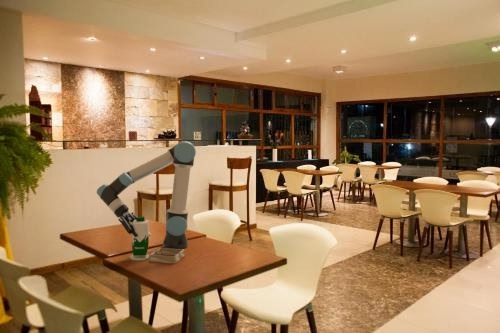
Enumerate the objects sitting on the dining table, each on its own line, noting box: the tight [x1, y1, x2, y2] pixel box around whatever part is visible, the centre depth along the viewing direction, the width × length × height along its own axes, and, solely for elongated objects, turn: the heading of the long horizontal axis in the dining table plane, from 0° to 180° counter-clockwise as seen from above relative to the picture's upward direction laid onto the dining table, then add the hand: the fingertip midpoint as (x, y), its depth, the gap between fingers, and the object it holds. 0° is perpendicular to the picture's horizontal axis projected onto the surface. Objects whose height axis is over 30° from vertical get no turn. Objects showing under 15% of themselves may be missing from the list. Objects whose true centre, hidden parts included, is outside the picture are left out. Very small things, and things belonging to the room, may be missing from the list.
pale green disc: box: [129, 253, 150, 262], centre depth 212 cm, size 11×11×1 cm
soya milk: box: [131, 216, 150, 256], centre depth 212 cm, size 9×9×20 cm
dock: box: [148, 247, 186, 264], centre depth 212 cm, size 15×15×4 cm
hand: (145, 238), depth 211 cm, fingers closed on soya milk, 9 cm apart
